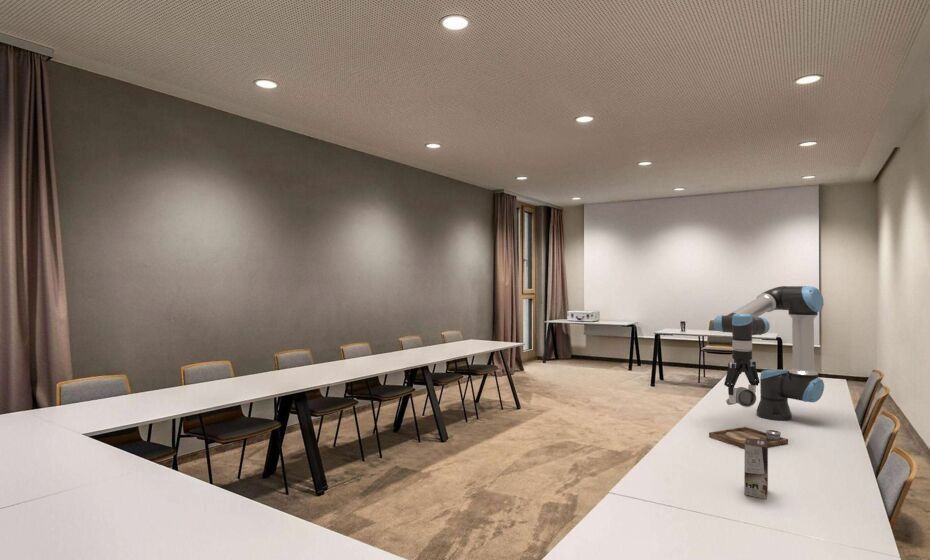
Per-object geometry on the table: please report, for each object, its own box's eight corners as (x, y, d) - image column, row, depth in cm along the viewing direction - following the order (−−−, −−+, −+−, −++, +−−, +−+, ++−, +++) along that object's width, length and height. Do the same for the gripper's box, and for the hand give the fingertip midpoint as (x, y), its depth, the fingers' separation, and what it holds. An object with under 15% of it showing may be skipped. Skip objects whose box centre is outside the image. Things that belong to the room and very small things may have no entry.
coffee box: (767, 499, 162) (767, 447, 162) (743, 495, 166) (743, 444, 166) (768, 489, 170) (768, 439, 170) (746, 485, 173) (745, 436, 173)
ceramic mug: (748, 402, 228) (748, 385, 228) (756, 407, 220) (756, 389, 220) (723, 402, 229) (722, 385, 229) (730, 407, 221) (729, 389, 221)
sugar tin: (771, 440, 222) (771, 429, 222) (783, 443, 217) (783, 432, 217) (763, 441, 219) (763, 430, 219) (774, 445, 215) (774, 434, 215)
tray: (745, 431, 235) (745, 426, 235) (788, 444, 216) (787, 439, 216) (709, 437, 226) (709, 432, 226) (750, 451, 208) (750, 446, 208)
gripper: (753, 347, 232) (753, 397, 232) (714, 350, 223) (714, 402, 223) (769, 349, 225) (769, 400, 225) (729, 352, 216) (729, 406, 216)
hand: (742, 401), depth 224 cm, fingers closed on ceramic mug, 11 cm apart
